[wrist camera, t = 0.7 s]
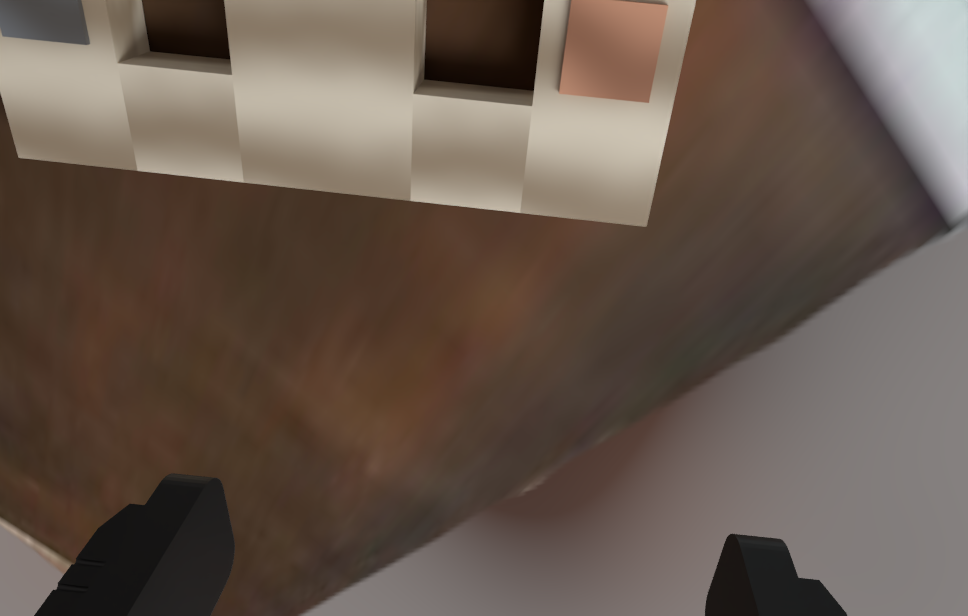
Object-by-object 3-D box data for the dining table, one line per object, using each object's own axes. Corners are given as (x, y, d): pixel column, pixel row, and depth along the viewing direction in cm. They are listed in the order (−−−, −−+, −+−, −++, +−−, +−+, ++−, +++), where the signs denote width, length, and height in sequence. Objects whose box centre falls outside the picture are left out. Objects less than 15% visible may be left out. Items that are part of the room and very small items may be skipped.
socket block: (-36, -227, 29) (-99, -240, 27) (716, -161, 28) (734, -168, 25) (55, 140, 38) (14, 159, 35) (640, 203, 36) (647, 229, 33)
